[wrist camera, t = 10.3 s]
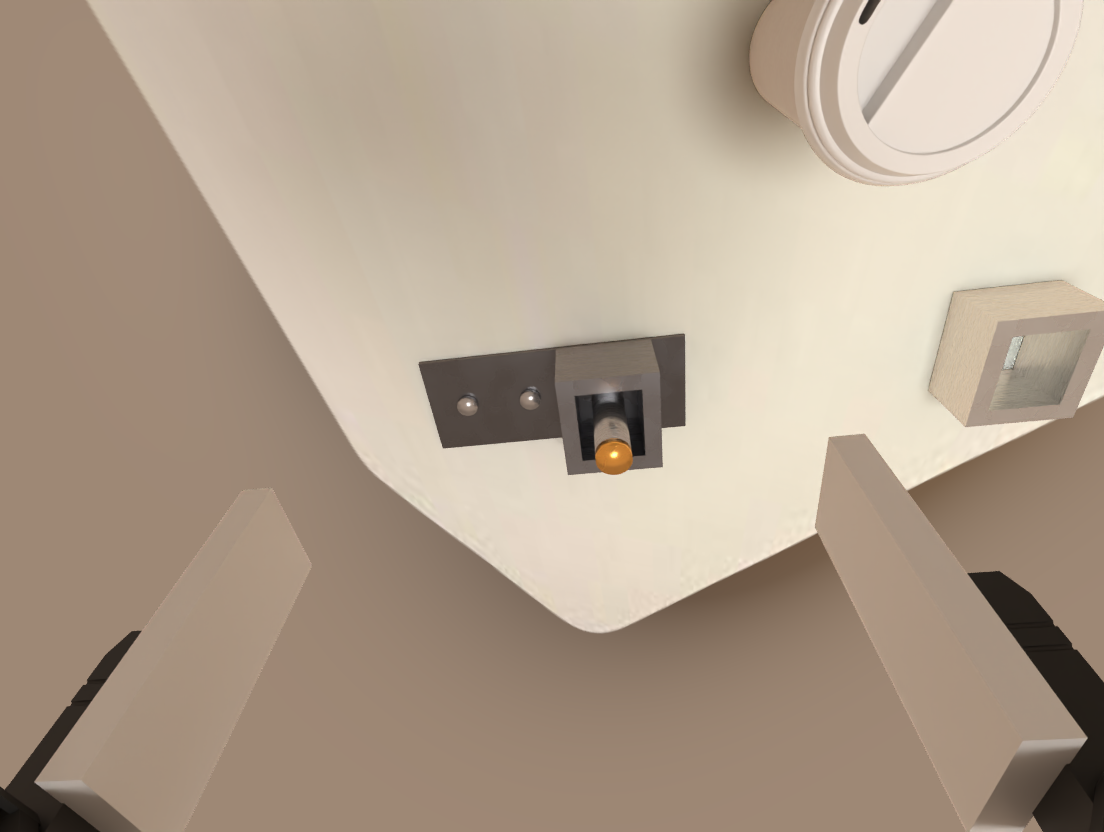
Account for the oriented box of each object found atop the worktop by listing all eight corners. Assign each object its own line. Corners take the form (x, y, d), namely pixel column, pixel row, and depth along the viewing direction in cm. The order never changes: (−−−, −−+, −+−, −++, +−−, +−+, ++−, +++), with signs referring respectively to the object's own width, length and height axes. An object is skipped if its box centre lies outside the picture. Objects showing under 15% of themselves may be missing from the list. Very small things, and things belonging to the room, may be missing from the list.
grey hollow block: (556, 348, 43) (554, 382, 39) (650, 338, 43) (659, 372, 38) (568, 436, 47) (567, 474, 43) (654, 428, 47) (662, 467, 43)
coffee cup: (844, -114, 29) (1054, -226, 16) (927, 51, 33) (1150, 62, 20) (687, 42, 33) (761, 46, 20) (778, 174, 36) (887, 247, 24)
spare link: (953, 291, 40) (997, 321, 36) (1061, 280, 40) (1119, 308, 36) (928, 390, 45) (965, 427, 40) (1025, 381, 44) (1073, 417, 40)
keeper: (419, 362, 44) (388, 430, 37) (684, 333, 43) (709, 399, 35) (443, 446, 49) (420, 522, 41) (684, 423, 47) (707, 499, 39)
